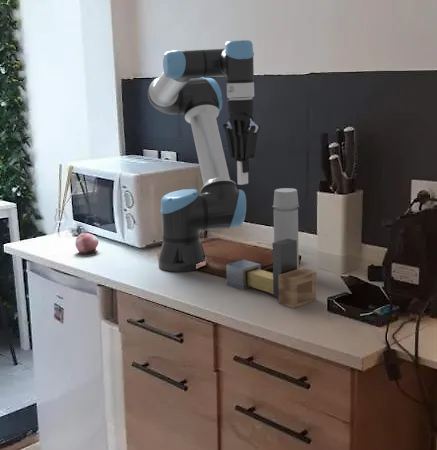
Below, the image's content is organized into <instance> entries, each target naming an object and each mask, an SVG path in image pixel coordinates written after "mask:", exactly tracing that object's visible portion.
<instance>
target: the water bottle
mask: <svg viewBox="0 0 437 450" xmlns="http://www.w3.org/2000/svg"><path fill="white" fill-rule="evenodd" d="M299 204H300V203H299V197H298V190H297V189H296V188H292V187H291V188H290V187H289V188H288V187H285V188H283V187H282V188H276V189H274V195H273V205H272V206H271V207H272V208H273V243H274V242H278V241H281V240H285V239H293V240H297V269H300V268H299V267H300V266H299V265H300V263H299V262H300V261H299V259H300V257H299V208H300V205H299Z"/></svg>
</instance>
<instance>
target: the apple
mask: <svg viewBox="0 0 437 450" xmlns="http://www.w3.org/2000/svg"><path fill="white" fill-rule="evenodd" d="M74 245H75V247H76V249H77V250H78V252H79V253H80V254H82V255H87V254H91V253H97V252H98V250H97V247H98V245H99V239H98V238H97V236H95V235H94V234H92V233H88V232H87V233H86V232H82V233H80V234H78V236H77V237H76V239H75V244H74Z"/></svg>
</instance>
